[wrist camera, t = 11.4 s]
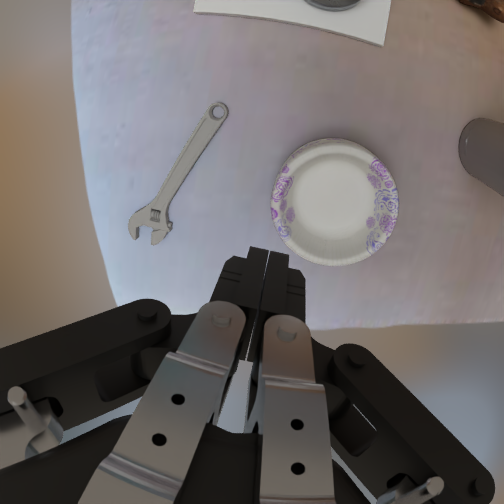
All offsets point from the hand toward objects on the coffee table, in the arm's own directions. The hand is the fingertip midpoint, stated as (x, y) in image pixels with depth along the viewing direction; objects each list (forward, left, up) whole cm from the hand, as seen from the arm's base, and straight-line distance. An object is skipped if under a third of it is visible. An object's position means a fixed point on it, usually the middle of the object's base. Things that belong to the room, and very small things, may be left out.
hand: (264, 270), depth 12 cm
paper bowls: (-7, +5, -31) cm, 32 cm away
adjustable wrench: (+14, +8, -32) cm, 36 cm away
